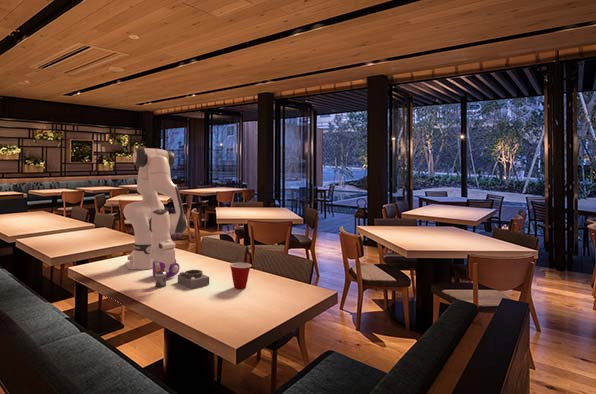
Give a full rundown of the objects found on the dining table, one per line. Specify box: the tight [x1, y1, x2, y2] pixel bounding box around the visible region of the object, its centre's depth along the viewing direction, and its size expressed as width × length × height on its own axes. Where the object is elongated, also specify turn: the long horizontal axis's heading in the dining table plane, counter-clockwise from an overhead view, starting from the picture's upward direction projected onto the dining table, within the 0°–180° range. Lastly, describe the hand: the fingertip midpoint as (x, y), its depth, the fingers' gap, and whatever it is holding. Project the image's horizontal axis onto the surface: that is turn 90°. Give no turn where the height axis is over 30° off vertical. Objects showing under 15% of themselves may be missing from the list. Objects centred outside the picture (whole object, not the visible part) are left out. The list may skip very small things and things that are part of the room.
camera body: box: [177, 269, 210, 290], centre depth 190 cm, size 14×10×6 cm
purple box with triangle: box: [152, 258, 181, 279], centre depth 202 cm, size 11×14×10 cm
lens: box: [154, 271, 167, 289], centre depth 185 cm, size 5×5×7 cm
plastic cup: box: [229, 262, 252, 290], centre depth 184 cm, size 11×11×12 cm
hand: (162, 270), depth 184 cm, fingers open, 8 cm apart
